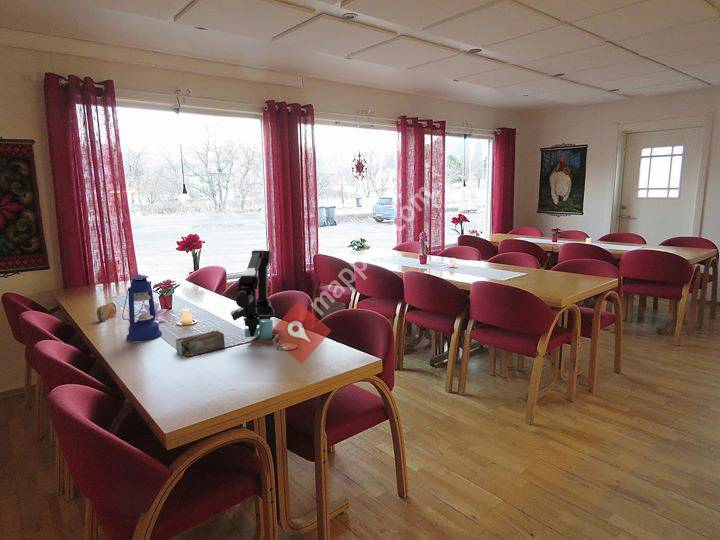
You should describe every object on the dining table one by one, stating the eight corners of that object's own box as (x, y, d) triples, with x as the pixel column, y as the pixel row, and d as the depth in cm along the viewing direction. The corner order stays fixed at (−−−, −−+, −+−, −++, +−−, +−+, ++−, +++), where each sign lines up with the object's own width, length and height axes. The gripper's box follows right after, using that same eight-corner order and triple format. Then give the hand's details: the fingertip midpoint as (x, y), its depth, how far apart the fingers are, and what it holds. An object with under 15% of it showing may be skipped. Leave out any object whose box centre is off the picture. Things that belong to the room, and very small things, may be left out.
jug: (270, 338, 214) (271, 318, 212) (273, 342, 208) (273, 322, 207) (243, 340, 209) (244, 320, 208) (245, 344, 204) (246, 324, 202)
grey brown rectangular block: (175, 352, 198) (174, 337, 196) (218, 342, 209) (217, 328, 208) (181, 357, 191) (180, 341, 190) (225, 347, 203) (225, 332, 202)
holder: (257, 338, 215) (257, 334, 214) (278, 338, 214) (278, 334, 214) (251, 345, 205) (250, 340, 205) (272, 345, 204) (272, 341, 204)
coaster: (279, 343, 206) (279, 342, 206) (299, 344, 206) (299, 343, 205) (274, 350, 197) (274, 349, 197) (295, 351, 197) (295, 350, 197)
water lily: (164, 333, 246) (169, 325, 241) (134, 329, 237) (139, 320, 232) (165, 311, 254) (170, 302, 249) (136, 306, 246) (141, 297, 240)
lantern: (146, 343, 209) (141, 278, 204) (117, 341, 212) (111, 277, 207) (169, 332, 225) (164, 272, 220) (142, 330, 228) (136, 271, 224)
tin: (102, 322, 243) (100, 307, 242) (96, 322, 243) (94, 307, 242) (117, 315, 258) (116, 300, 257) (112, 315, 258) (110, 300, 257)
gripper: (230, 298, 211) (232, 331, 213) (232, 308, 193) (234, 344, 196) (255, 296, 214) (256, 329, 217) (259, 306, 197) (260, 341, 199)
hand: (251, 335), depth 207 cm, fingers closed on jug, 3 cm apart
